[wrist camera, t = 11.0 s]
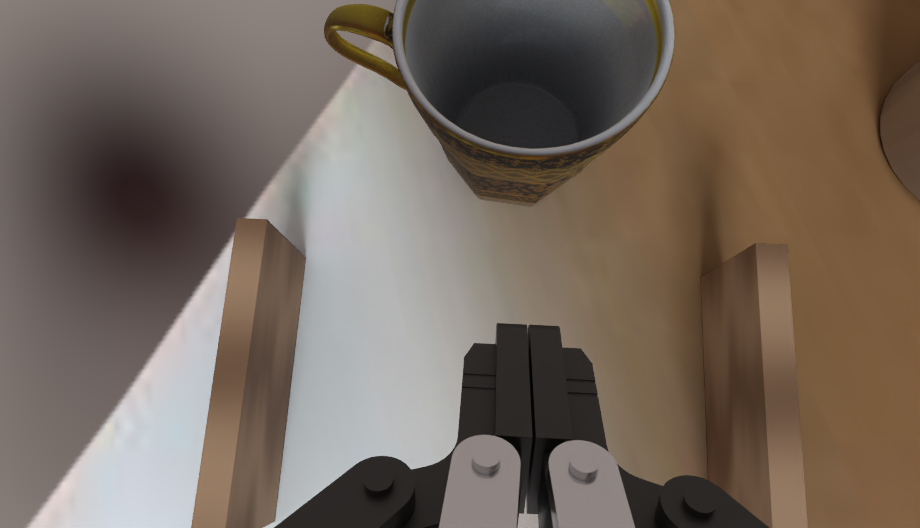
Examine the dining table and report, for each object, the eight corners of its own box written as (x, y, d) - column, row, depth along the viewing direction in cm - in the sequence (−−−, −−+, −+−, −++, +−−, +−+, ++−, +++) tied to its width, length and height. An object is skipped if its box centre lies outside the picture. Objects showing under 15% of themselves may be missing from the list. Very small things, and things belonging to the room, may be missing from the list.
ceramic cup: (622, 71, 33) (685, -77, 23) (603, 254, 30) (664, 176, 21) (377, 39, 34) (339, -117, 24) (340, 216, 31) (280, 123, 21)
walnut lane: (738, 550, 27) (812, 585, 21) (247, 519, 28) (188, 545, 22) (726, 278, 30) (787, 244, 24) (281, 256, 31) (237, 218, 25)
